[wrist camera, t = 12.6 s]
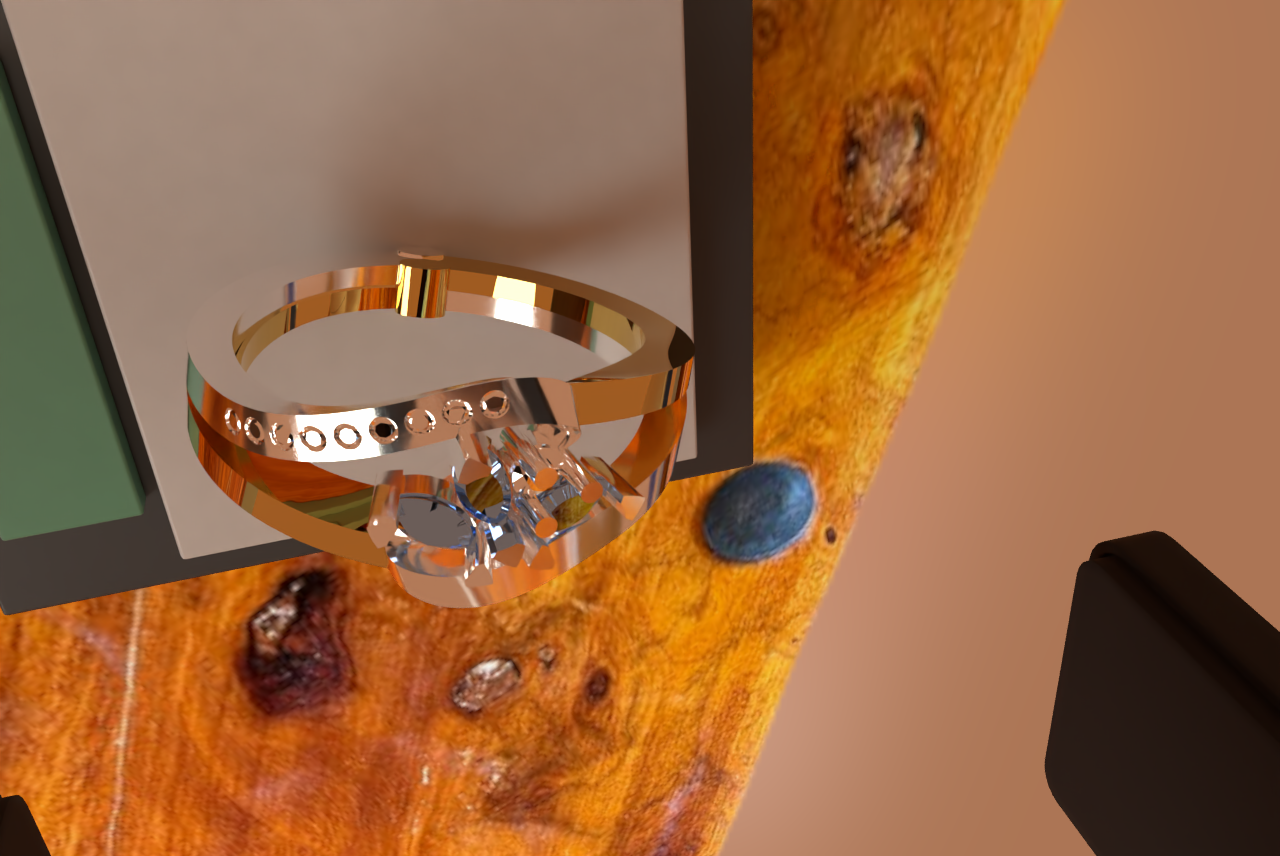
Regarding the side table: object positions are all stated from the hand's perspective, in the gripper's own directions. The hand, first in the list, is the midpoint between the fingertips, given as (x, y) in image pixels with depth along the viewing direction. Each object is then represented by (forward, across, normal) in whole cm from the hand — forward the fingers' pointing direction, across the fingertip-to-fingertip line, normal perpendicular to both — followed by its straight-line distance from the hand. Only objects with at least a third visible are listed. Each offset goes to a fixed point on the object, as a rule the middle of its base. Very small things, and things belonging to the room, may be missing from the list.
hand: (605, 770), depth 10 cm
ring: (+12, +1, 0) cm, 12 cm away
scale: (+15, +2, 0) cm, 15 cm away
